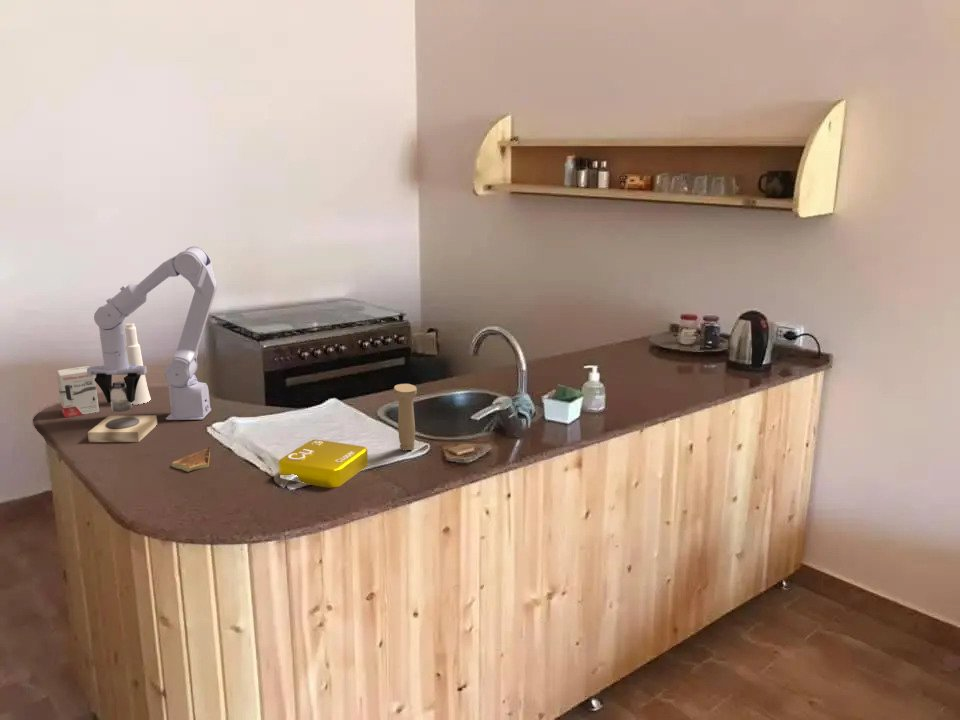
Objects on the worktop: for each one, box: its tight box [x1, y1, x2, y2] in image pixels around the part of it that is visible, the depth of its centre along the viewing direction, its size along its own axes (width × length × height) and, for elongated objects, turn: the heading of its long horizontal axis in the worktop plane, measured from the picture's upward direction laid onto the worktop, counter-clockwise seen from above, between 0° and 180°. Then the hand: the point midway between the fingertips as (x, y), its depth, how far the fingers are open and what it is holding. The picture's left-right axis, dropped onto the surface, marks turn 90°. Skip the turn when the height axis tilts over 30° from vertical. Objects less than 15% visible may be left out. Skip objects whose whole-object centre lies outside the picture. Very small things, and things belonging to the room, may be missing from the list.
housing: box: [109, 380, 133, 413], centre depth 216 cm, size 5×5×7 cm
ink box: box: [56, 365, 100, 418], centre depth 220 cm, size 8×5×12 cm, turn 123°
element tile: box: [278, 439, 369, 489], centre depth 183 cm, size 15×15×5 cm
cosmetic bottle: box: [124, 322, 152, 406], centre depth 228 cm, size 6×6×22 cm
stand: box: [87, 414, 158, 443], centre depth 206 cm, size 12×12×3 cm
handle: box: [393, 383, 418, 451], centre depth 193 cm, size 5×6×15 cm
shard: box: [171, 446, 211, 473], centre depth 188 cm, size 11×8×2 cm
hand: (121, 401), depth 216 cm, fingers closed on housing, 5 cm apart
